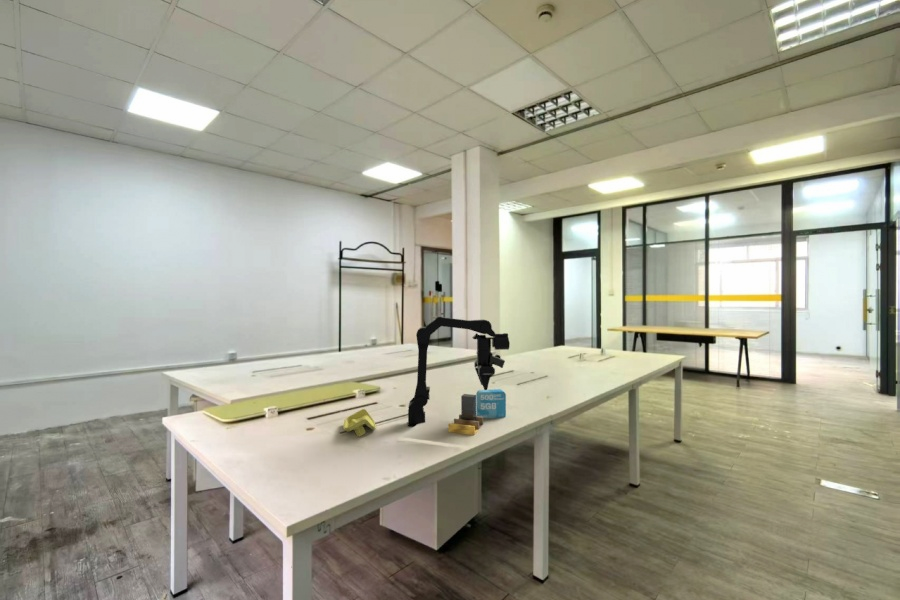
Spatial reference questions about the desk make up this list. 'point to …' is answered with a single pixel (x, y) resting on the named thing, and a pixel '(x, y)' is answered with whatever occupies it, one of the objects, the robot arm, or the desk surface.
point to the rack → (466, 425)
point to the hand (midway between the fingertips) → (484, 387)
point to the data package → (491, 403)
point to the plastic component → (359, 422)
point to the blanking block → (468, 407)
